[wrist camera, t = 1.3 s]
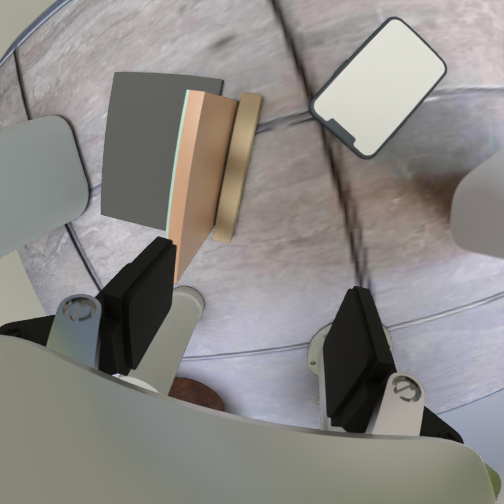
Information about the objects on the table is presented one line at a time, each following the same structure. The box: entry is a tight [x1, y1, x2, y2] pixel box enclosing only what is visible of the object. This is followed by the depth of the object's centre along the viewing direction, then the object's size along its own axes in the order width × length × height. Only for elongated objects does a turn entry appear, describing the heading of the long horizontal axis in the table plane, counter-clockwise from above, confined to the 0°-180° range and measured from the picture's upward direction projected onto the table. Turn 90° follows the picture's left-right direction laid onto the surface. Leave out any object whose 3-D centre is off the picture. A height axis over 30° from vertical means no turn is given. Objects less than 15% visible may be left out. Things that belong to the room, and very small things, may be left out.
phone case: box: [309, 17, 447, 159], centre depth 25 cm, size 9×2×16 cm
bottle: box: [119, 286, 204, 396], centre depth 29 cm, size 5×5×25 cm
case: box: [168, 378, 224, 412], centre depth 42 cm, size 18×20×18 cm
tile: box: [165, 90, 238, 284], centre depth 25 cm, size 1×14×12 cm, turn 167°
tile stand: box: [213, 92, 263, 244], centre depth 30 cm, size 16×3×2 cm, turn 168°
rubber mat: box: [101, 72, 224, 231], centre depth 31 cm, size 18×13×1 cm
